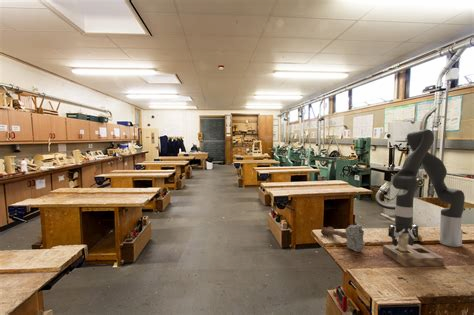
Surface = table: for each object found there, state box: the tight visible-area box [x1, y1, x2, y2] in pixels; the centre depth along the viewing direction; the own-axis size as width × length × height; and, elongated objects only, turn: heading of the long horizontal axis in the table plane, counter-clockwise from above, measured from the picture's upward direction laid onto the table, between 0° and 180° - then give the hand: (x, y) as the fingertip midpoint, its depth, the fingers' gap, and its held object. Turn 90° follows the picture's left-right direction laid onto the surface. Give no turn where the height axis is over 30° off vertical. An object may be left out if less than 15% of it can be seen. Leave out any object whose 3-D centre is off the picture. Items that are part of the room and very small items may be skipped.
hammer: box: [320, 224, 366, 253], centre depth 143 cm, size 15×10×30 cm
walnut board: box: [382, 243, 445, 268], centre depth 123 cm, size 20×16×4 cm
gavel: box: [387, 228, 423, 242], centre depth 153 cm, size 21×5×10 cm
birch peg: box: [397, 233, 408, 253], centre depth 123 cm, size 4×4×14 cm
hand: (402, 245), depth 123 cm, fingers open, 8 cm apart
